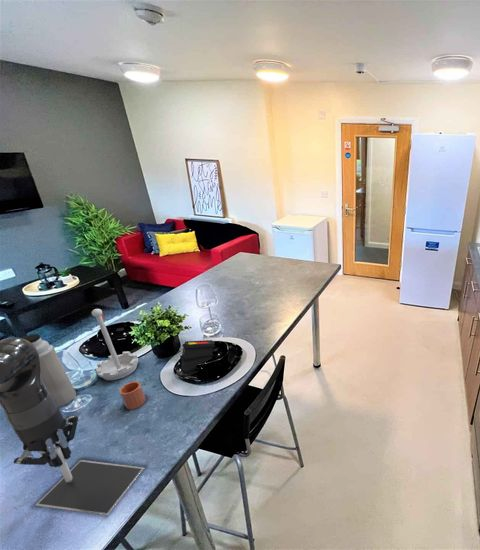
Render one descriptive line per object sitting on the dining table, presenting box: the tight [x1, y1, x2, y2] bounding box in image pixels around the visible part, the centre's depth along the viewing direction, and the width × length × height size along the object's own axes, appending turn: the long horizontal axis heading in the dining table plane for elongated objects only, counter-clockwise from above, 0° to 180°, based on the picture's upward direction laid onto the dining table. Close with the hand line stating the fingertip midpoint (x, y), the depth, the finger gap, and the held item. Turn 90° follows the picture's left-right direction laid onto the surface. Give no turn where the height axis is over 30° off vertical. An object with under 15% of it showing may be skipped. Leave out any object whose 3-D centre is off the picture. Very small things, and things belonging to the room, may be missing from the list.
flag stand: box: [91, 308, 139, 381], centre depth 113 cm, size 13×13×30 cm
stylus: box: [54, 446, 73, 483], centre depth 77 cm, size 1×1×14 cm
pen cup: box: [119, 381, 147, 410], centre depth 103 cm, size 6×6×8 cm
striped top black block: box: [179, 339, 216, 378], centre depth 120 cm, size 4×13×15 cm, turn 140°
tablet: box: [34, 459, 145, 516], centre depth 79 cm, size 12×20×1 cm, turn 85°
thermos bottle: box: [21, 333, 77, 408], centre depth 99 cm, size 8×8×28 cm
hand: (62, 461), depth 76 cm, fingers closed on stylus, 1 cm apart
